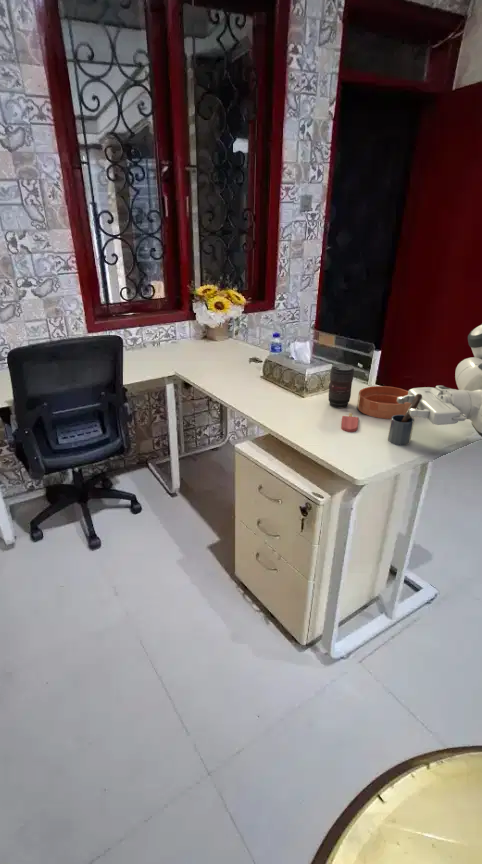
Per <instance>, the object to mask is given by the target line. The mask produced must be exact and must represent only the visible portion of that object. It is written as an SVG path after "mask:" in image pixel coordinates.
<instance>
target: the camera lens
mask: <svg viewBox="0 0 482 864" xmlns="http://www.w3.org/2000/svg"><path fill="white" fill-rule="evenodd" d="M354 374H355V369H354V366H353V365H351V364H347V363H334V364H332V365H331V369H330V374H329V383H328V388H329V389H328V402H329V403H328V404H329V406H330V407H333V408H336V409H343V408H347V407H348V406H349V403H350V401H351V396H352V388H353V387H352V386H353V380H354Z"/></svg>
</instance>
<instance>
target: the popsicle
mask: <svg viewBox="0 0 482 864" xmlns="http://www.w3.org/2000/svg"><path fill="white" fill-rule="evenodd" d="M359 419H360V418H359V416H353V413H352V412H349V413H348V415H342V417H341V426H340V428H341V431H343V432H345V433H346V432H347V433H354V432H357V431H358V427H359Z"/></svg>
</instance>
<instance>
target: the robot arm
mask: <svg viewBox="0 0 482 864" xmlns="http://www.w3.org/2000/svg"><path fill="white" fill-rule="evenodd" d="M467 342H468V346H469V347H470V348H471V351H472V354H473V357H467V358H464V359H462V360H461V361H459V363H458V364H457V366H456V367H455V374H454V375H455V376H454V378H455V384H456V386H457V389H456V388H451V387H447V386H445V385H436V386H435V387H430V386H427V387H426V386H424V387H413V388H410V389H408V390H407V391H408V395H406V396H403V397H397V402H398V403H399V404H404V403H405V402H408V403H412V401H413V400H414V398H415V396H416V395H417V394H421V395H422V399H420V402H419V404H418V406H417V407H416V409H409V415H410V416H411V417H418V418H421V419H427V421H429V422H430V423H431V425H435V426H436V425H437V426H446V425H455V424H458V423H459V422H464V421H465V420H470V421H471V425H472V427H473V429H474V430H475V431H476V434H478V435H479V436H480V437H481V438H482V324H480V325H478V326H476V327H475V328H473V329H472V330H471V331H470V332H469V333H468V335H467Z"/></svg>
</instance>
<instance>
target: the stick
mask: <svg viewBox="0 0 482 864" xmlns="http://www.w3.org/2000/svg"><path fill="white" fill-rule="evenodd" d="M420 399H422V395H421V394H417V395H416V396H415V398H414V400H413V401H412V403H411V405H410V407H409V408H408V410H407V412H406V414H405V416H404V417H403V419H402V421H401V422H409V420H410V418H411V417H412V416H410V415H409V409H417V408H416V407H417V406H418V404H419V402H420Z"/></svg>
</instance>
